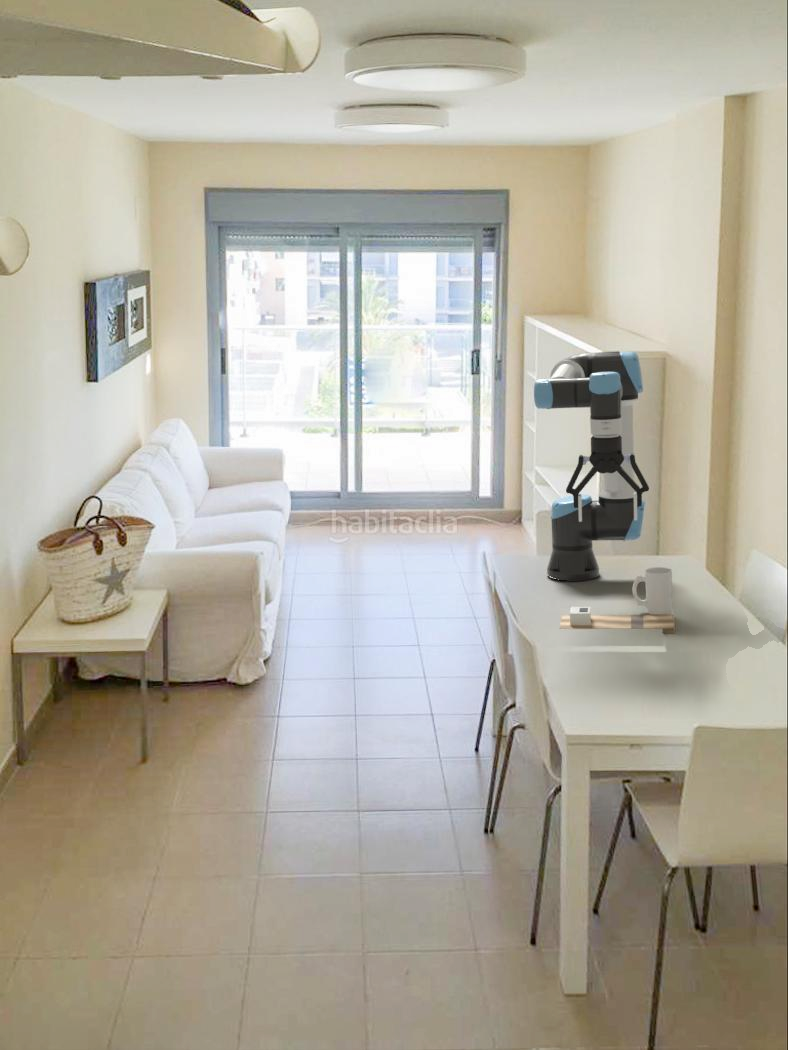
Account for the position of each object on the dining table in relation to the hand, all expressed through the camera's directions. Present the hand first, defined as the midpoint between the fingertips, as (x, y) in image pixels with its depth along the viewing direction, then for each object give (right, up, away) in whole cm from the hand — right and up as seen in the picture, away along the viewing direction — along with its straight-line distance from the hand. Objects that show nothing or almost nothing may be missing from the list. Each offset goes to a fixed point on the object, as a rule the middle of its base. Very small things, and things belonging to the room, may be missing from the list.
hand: (607, 520), depth 312 cm
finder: (-6, -26, +4) cm, 27 cm away
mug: (+13, -25, +10) cm, 30 cm away
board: (+3, -27, +3) cm, 27 cm away
